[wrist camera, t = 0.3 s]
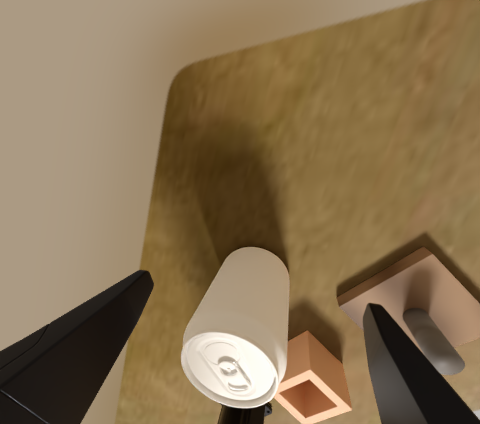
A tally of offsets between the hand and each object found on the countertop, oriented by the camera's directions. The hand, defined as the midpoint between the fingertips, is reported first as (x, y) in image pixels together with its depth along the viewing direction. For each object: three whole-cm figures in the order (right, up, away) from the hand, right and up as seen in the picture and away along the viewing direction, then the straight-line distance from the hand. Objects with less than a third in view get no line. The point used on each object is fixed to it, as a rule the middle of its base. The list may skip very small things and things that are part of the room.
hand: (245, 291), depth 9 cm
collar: (+8, -16, +20) cm, 26 cm away
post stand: (+18, -7, +14) cm, 24 cm away
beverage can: (+2, -4, +18) cm, 18 cm away
